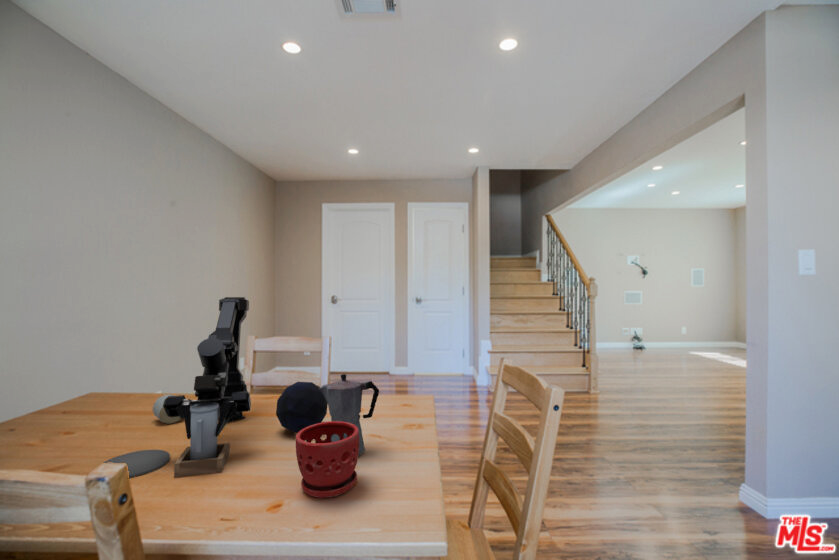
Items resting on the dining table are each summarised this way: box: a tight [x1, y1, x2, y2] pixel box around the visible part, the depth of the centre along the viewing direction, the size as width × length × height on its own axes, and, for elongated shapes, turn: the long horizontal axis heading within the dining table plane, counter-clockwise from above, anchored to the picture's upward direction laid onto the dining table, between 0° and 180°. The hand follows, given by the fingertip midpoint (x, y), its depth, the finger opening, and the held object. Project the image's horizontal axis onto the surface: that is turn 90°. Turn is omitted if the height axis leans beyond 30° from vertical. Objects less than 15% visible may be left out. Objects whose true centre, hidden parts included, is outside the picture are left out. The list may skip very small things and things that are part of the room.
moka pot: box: [319, 373, 380, 456], centre depth 101 cm, size 10×15×20 cm, turn 95°
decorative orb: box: [275, 381, 328, 434], centre depth 116 cm, size 14×15×15 cm
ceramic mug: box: [152, 394, 182, 425], centre depth 124 cm, size 11×8×8 cm
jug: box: [189, 402, 219, 460], centre depth 92 cm, size 8×6×14 cm
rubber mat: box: [103, 449, 171, 479], centre depth 93 cm, size 14×14×1 cm
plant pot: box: [295, 420, 359, 499], centre depth 83 cm, size 13×13×12 cm
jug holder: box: [173, 442, 231, 478], centre depth 93 cm, size 10×10×3 cm
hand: (202, 437), depth 92 cm, fingers closed on jug, 6 cm apart
